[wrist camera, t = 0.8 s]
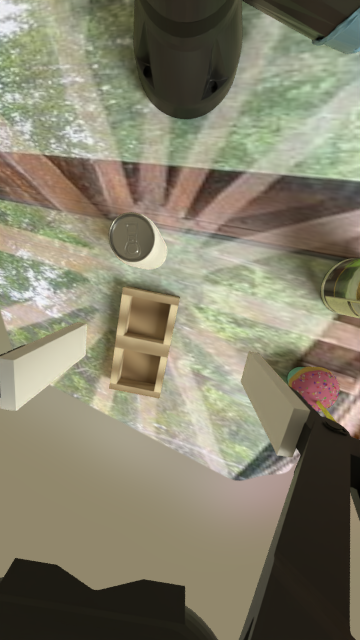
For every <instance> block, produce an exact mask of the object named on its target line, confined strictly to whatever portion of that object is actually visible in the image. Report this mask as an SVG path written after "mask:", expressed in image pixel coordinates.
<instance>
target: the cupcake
mask: <svg viewBox="0 0 360 640" xmlns="http://www.w3.org/2000/svg"><path fill="white" fill-rule="evenodd" d="M287 380H288V383H289V387H292V388H293V389H295V390H296V391H297V392H299V393H300V394H301V395H302V397H303V398H304V399H305V400H306V401H307V402H308V404H310V405H311V406H312V407H313V408H314V409H315V410H316V412H319V411H321V410H322V411H323V413H324V414H325V415H326V417H327V418H328V419H331V420H333V421H335V420H334V419H333V417H332V416H331V415H330V414H329V412H328V411H327V410H326V409H327V408H329V407H331V406H332V405H333V404H334V403H335V401H336V399H337V397H338V394H339V393H340V392H339V387H340V385H339V383H338V381H337V379H336V378H335V376H333V374H332V373H331V372H330V371H329V370H327V369H325V368H321V367H310V366H309V367H296V368H294V369H292V370H291V371H290V372H289V374H288V377H287ZM335 422H336V421H335Z"/></svg>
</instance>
